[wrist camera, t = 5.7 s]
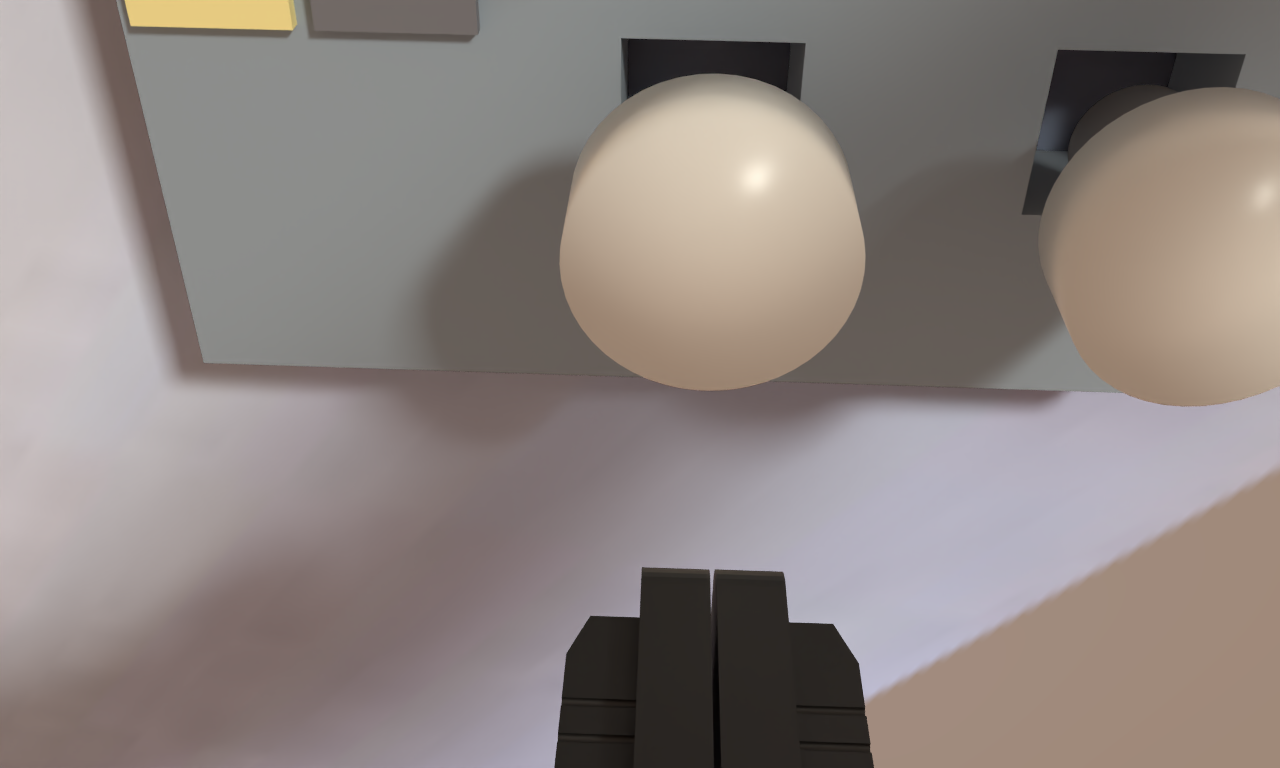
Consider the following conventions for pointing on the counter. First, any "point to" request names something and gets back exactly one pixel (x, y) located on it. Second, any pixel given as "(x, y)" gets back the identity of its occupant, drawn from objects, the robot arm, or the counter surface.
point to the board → (554, 138)
